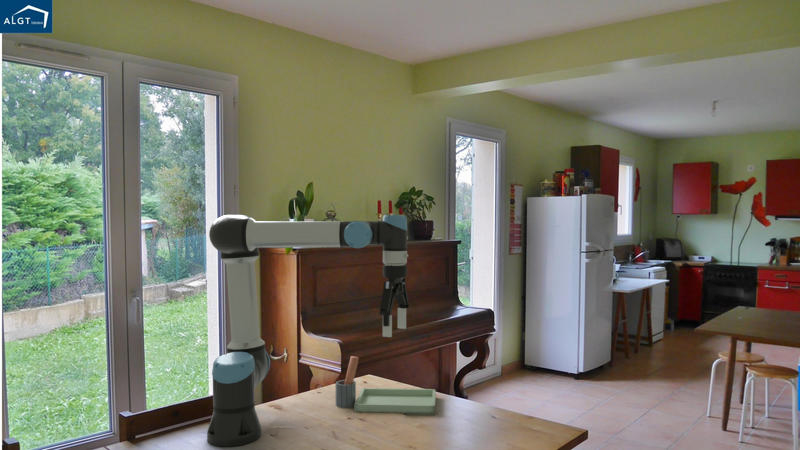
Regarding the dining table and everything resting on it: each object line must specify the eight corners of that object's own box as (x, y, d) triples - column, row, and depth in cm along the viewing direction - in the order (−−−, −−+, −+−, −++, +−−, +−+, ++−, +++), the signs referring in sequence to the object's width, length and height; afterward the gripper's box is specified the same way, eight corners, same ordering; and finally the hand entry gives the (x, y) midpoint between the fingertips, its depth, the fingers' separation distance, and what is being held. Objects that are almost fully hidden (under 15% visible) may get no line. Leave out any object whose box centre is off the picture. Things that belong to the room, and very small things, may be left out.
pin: (338, 405, 192) (340, 357, 191) (340, 402, 194) (341, 355, 194) (356, 406, 191) (358, 357, 191) (358, 403, 194) (359, 355, 194)
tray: (354, 413, 185) (354, 404, 185) (362, 396, 203) (362, 388, 203) (434, 414, 184) (434, 405, 184) (435, 397, 202) (435, 389, 201)
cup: (334, 409, 190) (334, 385, 190) (337, 402, 196) (337, 379, 196) (354, 409, 189) (353, 385, 189) (357, 403, 196) (356, 379, 196)
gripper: (392, 268, 165) (392, 341, 166) (418, 261, 189) (418, 326, 189) (368, 267, 168) (368, 339, 168) (396, 261, 191) (396, 324, 192)
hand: (394, 332), depth 179 cm, fingers open, 13 cm apart
